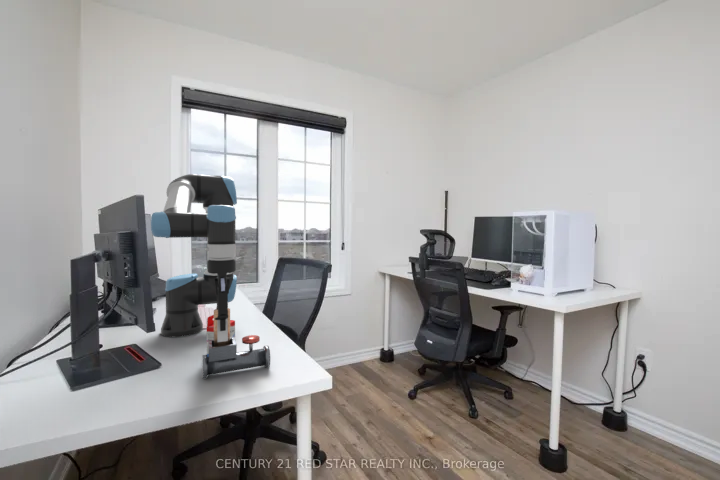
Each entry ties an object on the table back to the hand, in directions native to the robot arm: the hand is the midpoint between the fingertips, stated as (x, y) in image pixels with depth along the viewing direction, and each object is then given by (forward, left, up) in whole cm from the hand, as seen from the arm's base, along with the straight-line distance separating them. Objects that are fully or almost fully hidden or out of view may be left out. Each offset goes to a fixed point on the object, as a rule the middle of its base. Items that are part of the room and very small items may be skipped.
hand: (222, 338), depth 93 cm
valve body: (0, +4, -11) cm, 11 cm away
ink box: (-13, 0, -11) cm, 17 cm away
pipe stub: (0, 0, -4) cm, 4 cm away
